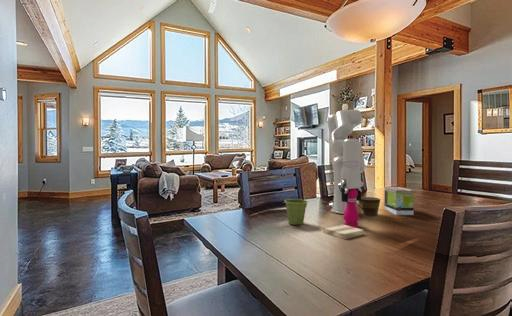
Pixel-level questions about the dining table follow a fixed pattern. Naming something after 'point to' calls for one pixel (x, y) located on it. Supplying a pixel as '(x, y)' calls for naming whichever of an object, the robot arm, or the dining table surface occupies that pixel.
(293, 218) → the plant pot
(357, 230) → the maple base
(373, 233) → the dining table surface
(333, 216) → the dining table surface
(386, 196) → the tea box
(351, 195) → the pepper mill
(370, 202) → the ceramic cup
